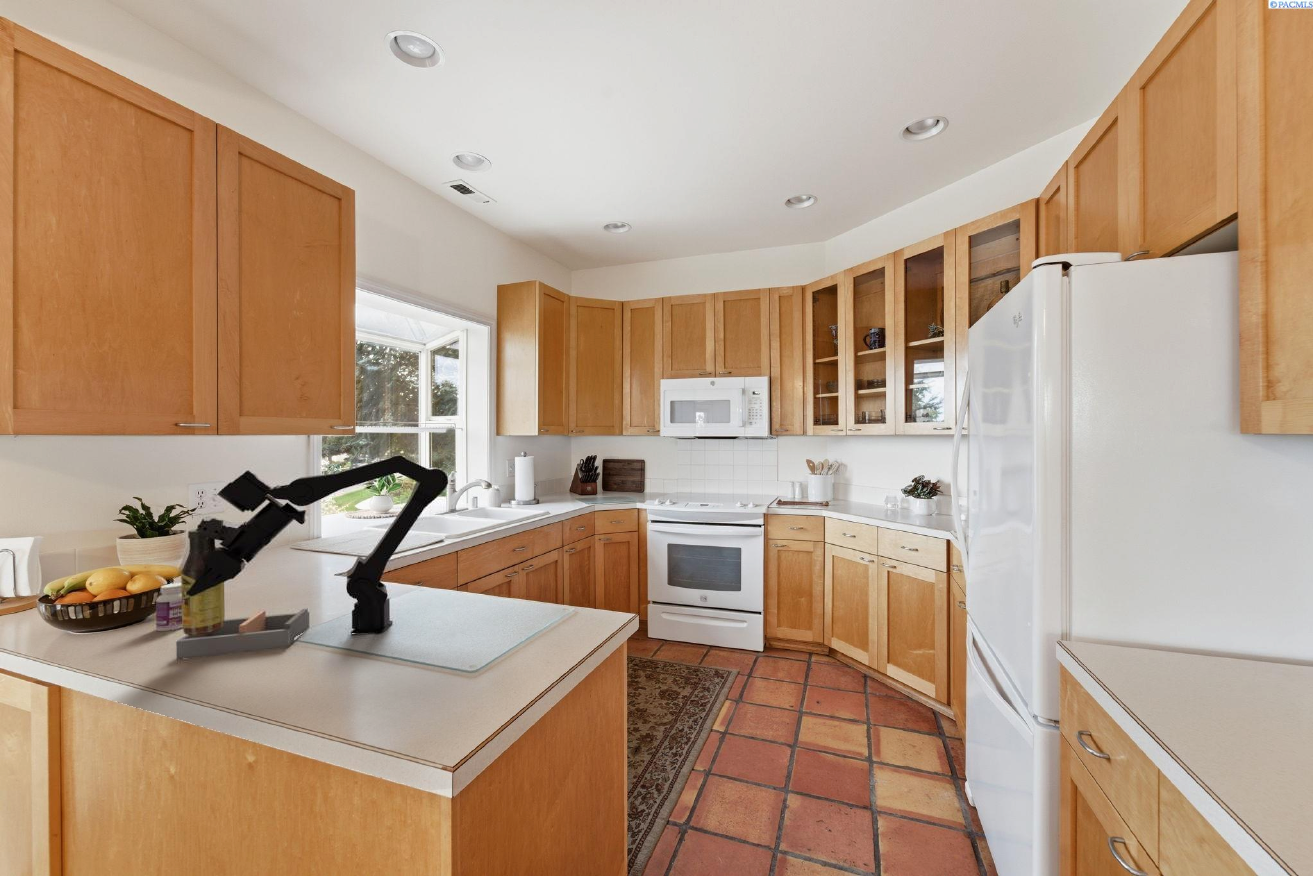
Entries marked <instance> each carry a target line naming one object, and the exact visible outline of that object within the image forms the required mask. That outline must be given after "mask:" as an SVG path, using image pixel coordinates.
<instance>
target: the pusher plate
mask: <svg viewBox="0 0 1313 876" xmlns="http://www.w3.org/2000/svg"><path fill="white" fill-rule="evenodd" d="M266 616H267V615H266V610H259V611H258V612H257V613H255V614H253V615H252V616H250V617H251V618H249V619H248V620H246V621H245V622H244V623H242V624H241V625H239V634H240V633H250V632H260V631H265V630H266Z"/></svg>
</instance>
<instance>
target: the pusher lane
mask: <svg viewBox="0 0 1313 876" xmlns="http://www.w3.org/2000/svg"><path fill="white" fill-rule="evenodd" d="M251 617H252V616H249V617H237V618H227V619H224V625H223V627H221V628H220V629H219V630H217V631H214V632H209V633H205V634H200V635H192V636H190V635H187V634H185V635H184V636H183V637H181V638H179V639H177V640H176V642H175V643H176V649H175V650H176V651H175V652H176V660H177V659H179V660H184V659H183V658H188V659H194V658H205V657H204V656H206V657H214V656H223V655H231V654H241V653H249V652H251V651H252V652H257V651H258V652H259V651H267V650H268V651H270V650H278V649H287V648H286V647H288V648H289V647H290V646H292V645H293V644H294V643H293V642H294V638H295V637H296V636H298V635H300V634H301V633H303V632H304V631H305V632H306V631H307V630H308V629H309V628H310V611H309V609H308V608H302V609H301V610H300V611H298V612H291V613H281V614H270V615H269V614H268V615H266V630H265V631H260V632H250V633H240V634H239V625H241V624H242V623H244V622H245V621H246V620H248V619H249V618H251ZM305 632H304V633H305ZM304 633H303V634H304Z"/></svg>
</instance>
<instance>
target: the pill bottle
mask: <svg viewBox="0 0 1313 876" xmlns="http://www.w3.org/2000/svg"><path fill="white" fill-rule="evenodd" d="M160 594H161V595H159V596H158V597H157V598H156V600H155V605H156V606H155V610H156V612H155V614H156V615H155V622H156V623H155V625H156V630H157V631H158V632H169V631H170V630H171V631H175V630H174V629H176V630H179V628H180V629H183V626H182V591H181V582H175V583H170V584H164V585H161V586H160ZM171 631H170V632H171Z"/></svg>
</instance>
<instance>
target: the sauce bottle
mask: <svg viewBox="0 0 1313 876" xmlns="http://www.w3.org/2000/svg"><path fill="white" fill-rule="evenodd" d="M196 530H197V528H194V529H190V530H188V533H187V538H188V539H189V549H188V550H189V551H188V555H187V558H186V561H185V563H184V565H183V567H182V570H181V573H180V578H181V579H180V583H181V591H182V626H183V628H182V629H183V634H185V635H190V636H192V635H200V634H205V633H209V632H214V631H217V630H219V629H220V628H221V627H223V625H224V620H225V615H226V614H225V613H226V612H225V611H226V609H225V607H226V606H225V582H223V583H220V584H218V585H216V586H214V587H212V588H209V589H207V590H205V591H203V592H201V593H199V594H196V595H194V596H189V595H188V594H187V592H188V590H189V589H190V588H191V586H192V585H193V584H194V582H195V581H196V580H197V578H198V577H199V576H200V574H201V573H202V572H203V570H204V563H203V561H202V558H203V557H204V556H205V555H206V554H207V553H209V552H210V551H211V550H212V549H214V548H217V547H216V539H212V538H208V537H205V536H201V532H199V531H196Z"/></svg>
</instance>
